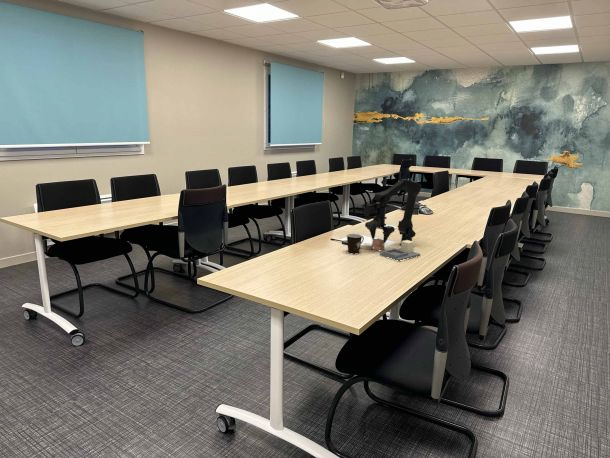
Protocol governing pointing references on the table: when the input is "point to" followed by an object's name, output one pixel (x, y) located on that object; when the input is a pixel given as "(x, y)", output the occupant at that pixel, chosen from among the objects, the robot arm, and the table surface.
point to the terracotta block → (378, 244)
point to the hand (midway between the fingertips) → (378, 241)
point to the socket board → (401, 251)
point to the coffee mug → (354, 242)
